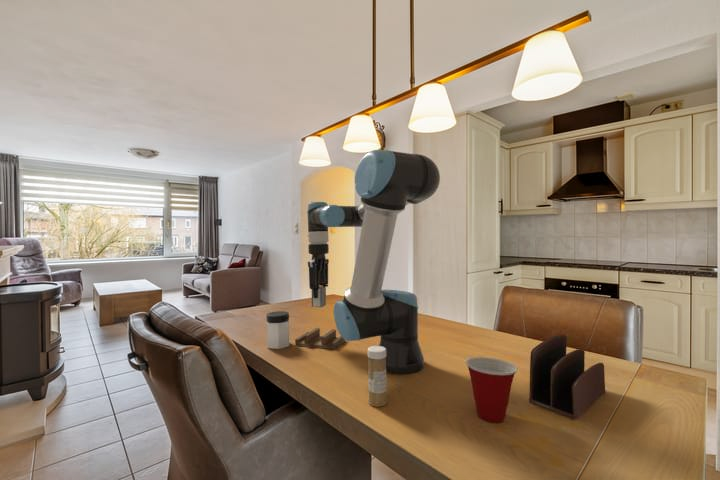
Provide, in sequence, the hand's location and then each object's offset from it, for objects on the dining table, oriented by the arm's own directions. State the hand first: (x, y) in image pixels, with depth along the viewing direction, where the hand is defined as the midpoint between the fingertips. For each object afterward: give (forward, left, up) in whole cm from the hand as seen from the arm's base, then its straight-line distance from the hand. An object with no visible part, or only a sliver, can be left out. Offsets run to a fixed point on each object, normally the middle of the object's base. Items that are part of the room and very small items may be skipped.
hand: (319, 305), depth 128 cm
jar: (+14, +7, -15) cm, 21 cm away
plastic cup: (-59, +35, -15) cm, 70 cm away
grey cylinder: (0, 0, 0) cm, 0 cm away
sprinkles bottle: (-33, +37, -15) cm, 52 cm away
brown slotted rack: (0, 0, -14) cm, 14 cm away
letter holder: (-77, +21, -15) cm, 81 cm away
